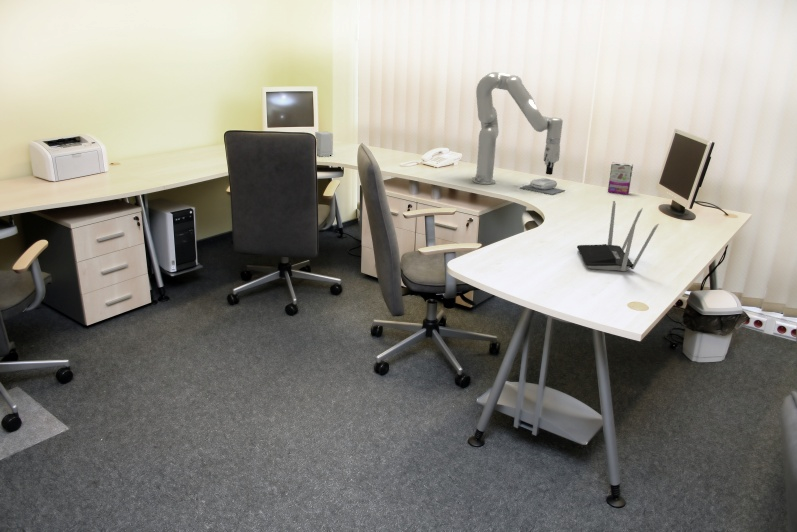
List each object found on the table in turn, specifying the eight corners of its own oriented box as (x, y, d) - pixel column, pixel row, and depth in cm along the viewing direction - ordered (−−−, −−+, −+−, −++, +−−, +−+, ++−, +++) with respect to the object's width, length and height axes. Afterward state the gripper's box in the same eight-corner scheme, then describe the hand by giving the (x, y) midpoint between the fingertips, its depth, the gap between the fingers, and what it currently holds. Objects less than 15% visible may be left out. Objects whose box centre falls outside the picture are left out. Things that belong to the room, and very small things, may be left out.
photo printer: (541, 184, 372) (528, 187, 364) (542, 177, 371) (528, 179, 363) (556, 188, 365) (543, 191, 357) (557, 180, 363) (544, 183, 356)
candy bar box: (628, 193, 364) (633, 164, 358) (628, 195, 359) (633, 165, 354) (608, 190, 367) (612, 161, 362) (607, 192, 363) (611, 163, 357)
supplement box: (333, 156, 429) (333, 133, 424) (320, 157, 425) (320, 133, 420) (327, 153, 437) (327, 131, 431) (314, 154, 432) (314, 131, 427)
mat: (552, 195, 352) (552, 194, 351) (520, 188, 364) (520, 187, 363) (564, 191, 362) (564, 190, 361) (532, 184, 374) (532, 183, 374)
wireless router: (573, 246, 269) (580, 198, 262) (631, 250, 267) (639, 202, 260) (588, 275, 237) (596, 222, 230) (653, 279, 235) (663, 226, 228)
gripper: (552, 143, 350) (548, 177, 356) (565, 140, 361) (561, 173, 367) (540, 141, 355) (536, 174, 361) (553, 138, 365) (549, 171, 372)
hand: (549, 174), depth 364 cm, fingers closed
